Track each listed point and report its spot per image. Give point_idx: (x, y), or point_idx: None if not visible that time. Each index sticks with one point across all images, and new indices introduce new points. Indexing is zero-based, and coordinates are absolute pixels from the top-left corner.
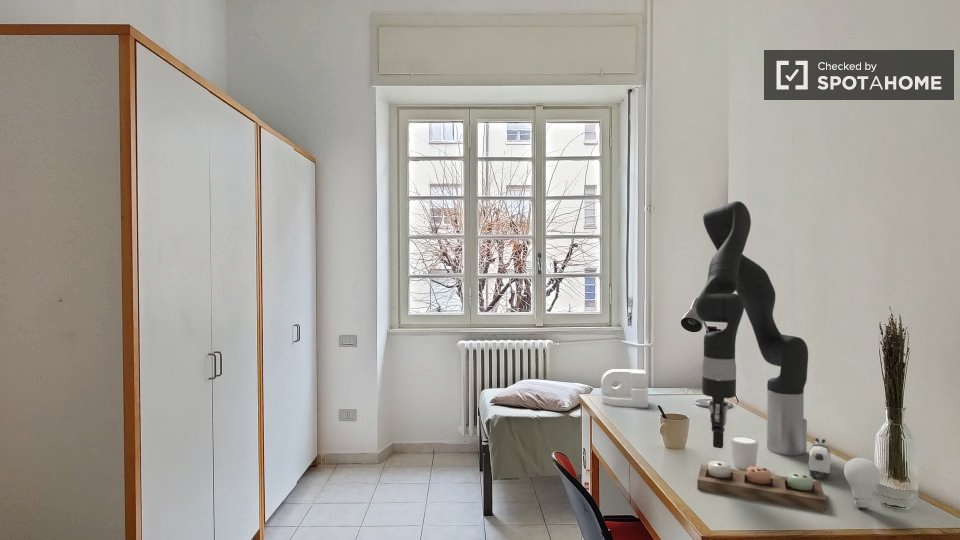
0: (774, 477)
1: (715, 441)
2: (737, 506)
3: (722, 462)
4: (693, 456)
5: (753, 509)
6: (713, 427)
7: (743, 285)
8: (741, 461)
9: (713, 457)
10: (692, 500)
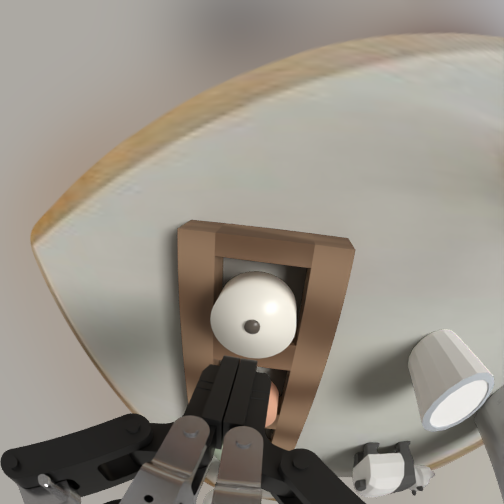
0: (288, 419)
1: (199, 383)
2: (135, 310)
3: (282, 338)
4: (494, 224)
5: (139, 338)
6: (94, 432)
7: None
8: (418, 363)
9: (490, 282)
10: (117, 207)
